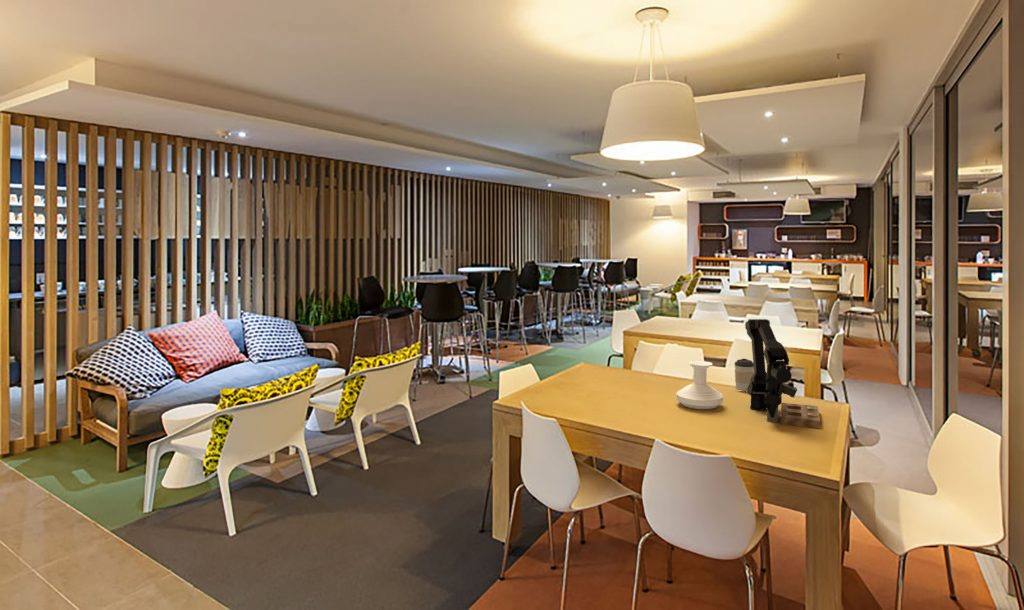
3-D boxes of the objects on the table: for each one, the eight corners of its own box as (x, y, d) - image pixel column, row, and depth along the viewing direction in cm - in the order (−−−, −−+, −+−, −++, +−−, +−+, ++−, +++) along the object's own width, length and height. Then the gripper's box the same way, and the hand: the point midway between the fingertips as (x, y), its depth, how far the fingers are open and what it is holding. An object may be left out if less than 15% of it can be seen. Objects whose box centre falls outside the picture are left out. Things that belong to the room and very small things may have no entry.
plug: (766, 421, 240) (767, 401, 239) (767, 418, 244) (768, 398, 243) (777, 422, 238) (778, 402, 237) (777, 419, 242) (778, 399, 241)
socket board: (780, 423, 236) (780, 415, 236) (781, 409, 256) (781, 401, 255) (819, 428, 230) (820, 419, 230) (817, 413, 250) (817, 404, 250)
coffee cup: (754, 393, 282) (755, 362, 281) (733, 391, 285) (734, 361, 284) (752, 388, 291) (754, 358, 289) (733, 387, 294) (734, 357, 292)
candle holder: (706, 415, 249) (707, 370, 246) (666, 405, 264) (667, 362, 262) (732, 406, 261) (733, 363, 259) (692, 397, 277) (693, 356, 274)
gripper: (796, 384, 227) (794, 423, 229) (796, 373, 244) (794, 410, 246) (765, 381, 232) (763, 420, 234) (766, 371, 249) (765, 407, 250)
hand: (772, 414), depth 241 cm, fingers open, 9 cm apart
